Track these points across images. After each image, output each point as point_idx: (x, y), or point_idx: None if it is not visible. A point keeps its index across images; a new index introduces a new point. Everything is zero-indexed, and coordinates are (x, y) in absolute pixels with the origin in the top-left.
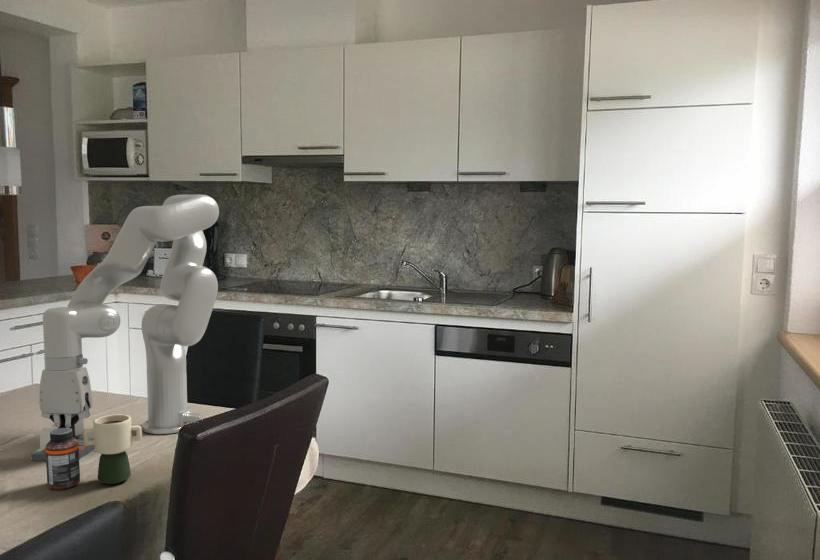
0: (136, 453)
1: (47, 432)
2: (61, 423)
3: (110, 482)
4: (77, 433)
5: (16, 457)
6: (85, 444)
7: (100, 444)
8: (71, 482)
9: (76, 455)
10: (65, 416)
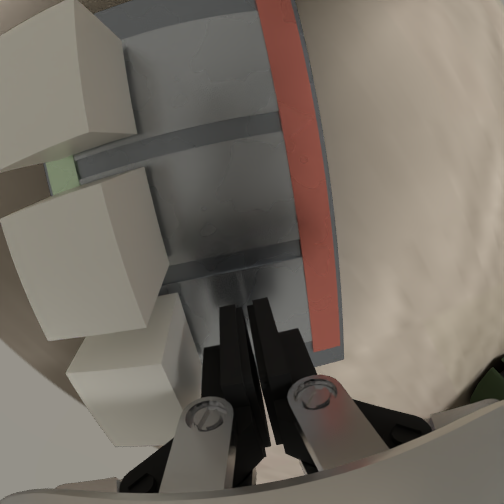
0: (501, 183)
1: (163, 440)
2: (252, 465)
3: None
4: (130, 113)
5: (57, 362)
6: None
7: None
8: None
9: None
10: (230, 461)
